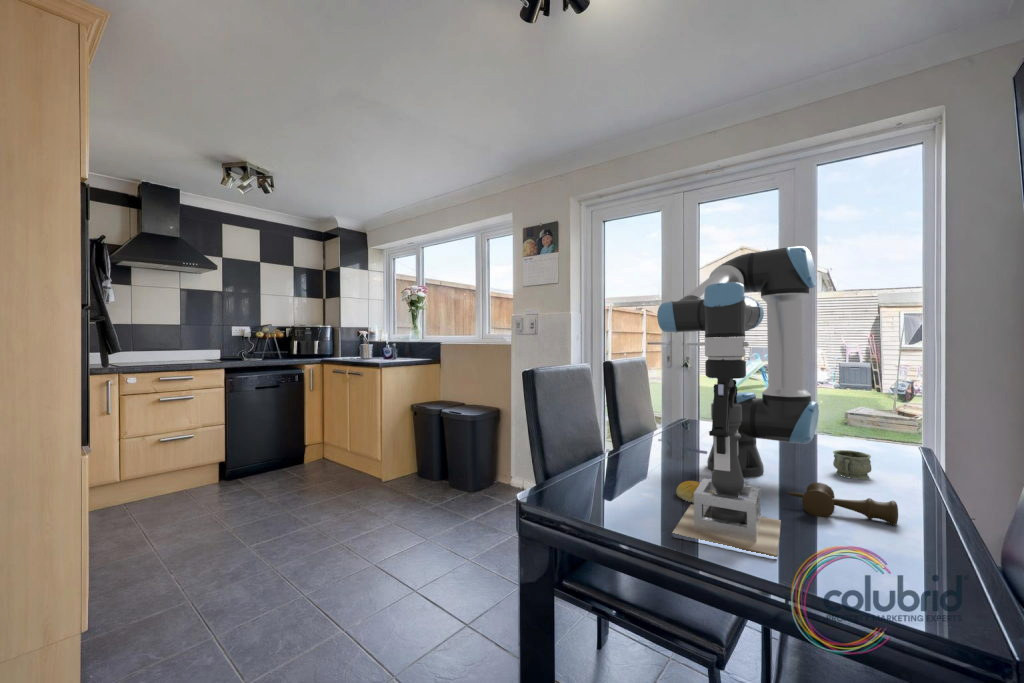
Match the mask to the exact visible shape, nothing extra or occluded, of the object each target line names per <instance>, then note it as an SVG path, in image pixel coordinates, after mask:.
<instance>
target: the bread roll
mask: <svg viewBox="0 0 1024 683" xmlns="http://www.w3.org/2000/svg"><path fill="white" fill-rule="evenodd" d="M700 483H701V482H700V481H696V480H695V481H694V480H685V481H683V482H681V483H680V484H679V485H678V486H677V487H676V495H677V497H678V498H679V499H682V500H683V501H684V500H685V502H687V501H688V503H691V502H692V503H691V504H694V492H695V490H696V489H697V487H698V486H699V484H700ZM714 492H715V491H711V493H712V494H715V493H714Z"/></svg>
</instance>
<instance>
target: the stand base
mask: <svg viewBox="0 0 1024 683" xmlns="http://www.w3.org/2000/svg"><path fill="white" fill-rule="evenodd" d="M709 518H711V516H710V517H709ZM745 525H747V523H746V522H745ZM781 526H782V520H781V519H776V518H771V517H770V518H769V517H767V516H766V517H764V516H761V523H760V528H759V533H758V538H757V542H756V543H755V542H750V541H745V540H740V539H735V538H730V537H725V536H720V535H716V534H711V533H706V532H701V531H696V530H694V504H690V505H689V506H688V508H687V509H686V511H685V512H684V514H683V515H682V517H681V519H680V520H679V522H678V523H677V524H676V526H675V528H674V529H673V531H672V533H675V534H679V535H682V536H686V537H691V538H695V539H700V540H705V541H709V542H713V543H718V544H723V545H727V546H732V547H735V548H739V549H742V550H746V551H751V552H756V553H761V554H766V555H769V556H774V557H777V556H778V557H779V549H778V547H780V539H779V538H780V537H781ZM672 533H671V534H672Z"/></svg>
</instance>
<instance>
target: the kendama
mask: <svg viewBox="0 0 1024 683" xmlns="http://www.w3.org/2000/svg"><path fill="white" fill-rule="evenodd" d="M786 494H787V495H790V496H793V497H797V498H802V499H801V504H802V507H803V509H804V511H805V512H806V513H808V514H809V515H810V516H813V517H817V518H823V519H827V518H830V517H831V516H832V515H833V514H834V512H835V508H836V507H840V508H844V509H846V510H850V511H853V512H856V513H857V514H861V515H863V516H865V517H866V518H867V519H869V520H872V519H878V520H880V521H881V520H882V521H885V522H887V523H889V525H891V526H897V524H898V522H899V507H898V504H897V501H895V500H890V501H887V502H884V501H883V502H881V501H876V500H874V499H872V498H870V497H869V498H867V499H862V500H861V499H859V500H857V499H842V498H835V493H834V490H833V489H832V487H831V486H829V485H828V484H826V483H823V482H817V481H816V482H812V483H809V484H808V486H807V487H806V491H805V493H802V492H801V493H800V492H794V491H787V492H786ZM835 506H836V507H835Z"/></svg>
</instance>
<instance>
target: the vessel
mask: <svg viewBox="0 0 1024 683" xmlns="http://www.w3.org/2000/svg"><path fill="white" fill-rule="evenodd" d="M832 453H833V454H834V455H833V457H834V459H833V462H832V463H833V467H834V468H835V469H837V470H836V472H835V474H836V473H837V474H839V475H838V476H840V475H842V476H845V477H844V478H846V477H850V478H849V479H852V478H858V479H857V480H867V479H866V478H868V479H870V476H869V473H871V472H872V465H871V464H872V461H871V457H872V455H871V454H869V453H865V452H862V451H857V450H848V449H847V450H846V449H836V450H833V451H832ZM837 474H836V475H837ZM842 476H841V477H842Z"/></svg>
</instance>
